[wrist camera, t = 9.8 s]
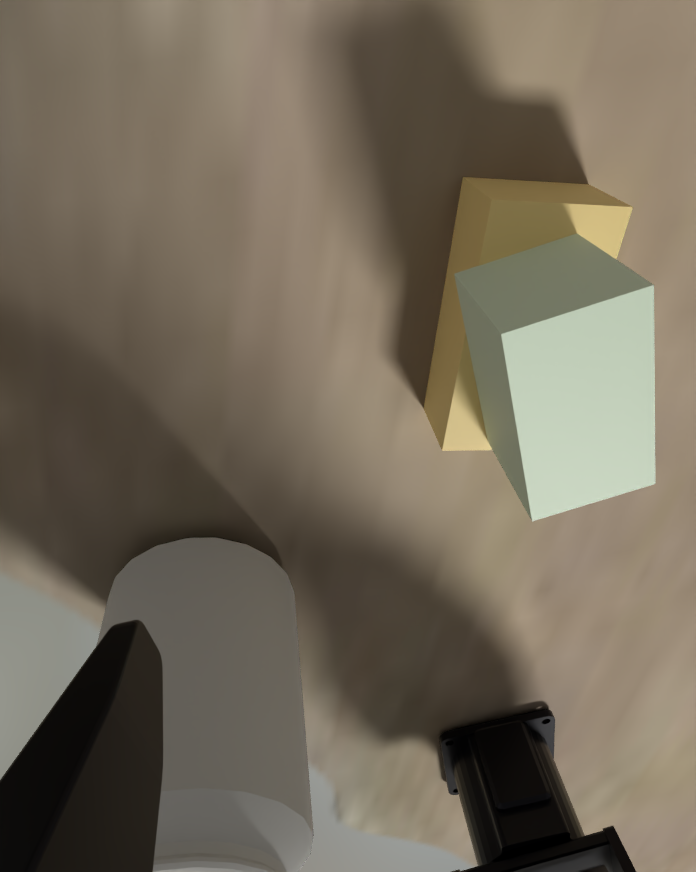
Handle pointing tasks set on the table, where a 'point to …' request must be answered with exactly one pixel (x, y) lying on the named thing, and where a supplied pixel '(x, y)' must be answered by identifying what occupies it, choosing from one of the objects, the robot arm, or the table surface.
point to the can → (224, 705)
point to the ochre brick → (491, 240)
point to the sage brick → (564, 372)
